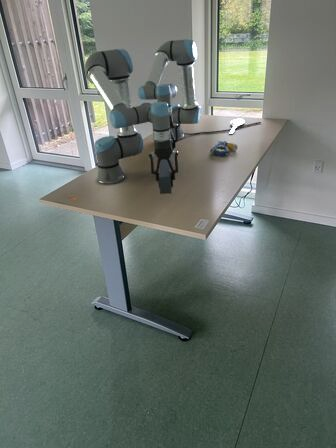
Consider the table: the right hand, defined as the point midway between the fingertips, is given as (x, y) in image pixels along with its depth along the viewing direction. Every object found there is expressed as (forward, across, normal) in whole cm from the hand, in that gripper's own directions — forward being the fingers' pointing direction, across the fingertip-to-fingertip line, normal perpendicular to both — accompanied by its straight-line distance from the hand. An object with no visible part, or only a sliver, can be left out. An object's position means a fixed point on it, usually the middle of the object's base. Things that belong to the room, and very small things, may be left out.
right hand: (168, 153), depth 200 cm
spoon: (+8, +50, +68) cm, 85 cm away
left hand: (-1, 0, -46) cm, 46 cm away
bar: (0, 0, -23) cm, 23 cm away
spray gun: (+7, +35, +16) cm, 39 cm away
